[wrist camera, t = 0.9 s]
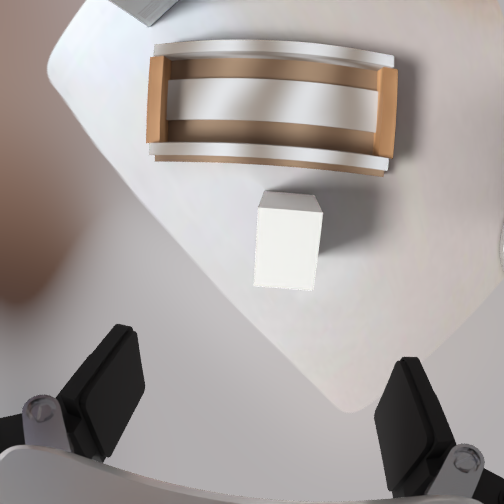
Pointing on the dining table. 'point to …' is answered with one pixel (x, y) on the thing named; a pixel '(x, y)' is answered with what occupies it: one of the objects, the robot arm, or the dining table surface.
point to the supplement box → (145, 9)
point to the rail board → (272, 105)
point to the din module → (287, 240)
